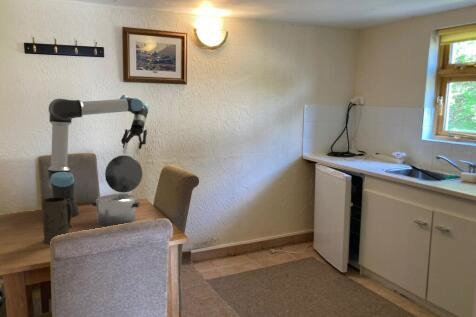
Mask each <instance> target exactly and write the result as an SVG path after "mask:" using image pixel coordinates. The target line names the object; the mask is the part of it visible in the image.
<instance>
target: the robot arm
mask: <svg viewBox="0 0 476 317" xmlns="http://www.w3.org/2000/svg"><path fill="white" fill-rule="evenodd" d="M123 112H125V113H126V112H130V113H131V114H133V115H134V116H133V120H132V123H131V125H130V129H127V128H126V129H124V133H123V135H122V138H121V140H120V142H121V144H122V148H123V149H122V153H123V154H124V155H126V152H127V150H128V144H129V142H130V141H131V140H132V139H133V138H134V137H138V141H139V142H138V143H137V146H136V150H135V153H136V155H139V153H140V150H141V149H142V147H143V145H146V143H147V135H148V130H147V129H145V125H146V121H147V116H148V114H149V105H148V104H147V103H146V102H143V101H142V99H140V98H139V97H138V98H137V97H135V98H133V97H129V96H128V95H126V94H123V95H121V96H120V98H118V99H104V100H103V99H102V100H99V99H98V100H87V101H86V100H85V101H81V100H79V99H66V98H56V99H54V100H52V101H51V102H50V103H49V105H48V114H49V121H48V122H49V123H50V124H51V153H50V154H51V156H50V158H51V159H50V160H51V161H50V166H49V167H48V169H47V176H46V184H47V187H48V188H49V189H50V190H51V198H53V197H63V198H65V199H70V201H71V205H72V209H73V212H72V217H76V216H77V215H79V214H80V210H79V207H78V204H77V202H76V197H75V196H76V195H75V178H74V175H73V173H71V169H70V167H69V166H68V155H69V151H68V150H69V126H70V125H71V124H72V122H73V121H72V120H73V119H75V118H76V119H77V118H82V117H83V116H87V115H88V116H90V115H100V114H103V115H104V114H113V113H123ZM141 135H143V136H141ZM66 210H67V215H68V207H67V205H66Z"/></svg>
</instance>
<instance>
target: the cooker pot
mask: <svg viewBox="0 0 476 317" xmlns="http://www.w3.org/2000/svg"><path fill="white" fill-rule="evenodd" d="M140 203H141V202H140V201H136V197H135V196H134V195H132V194H129V193H122V192H118V193H116V194H115V193H114V194H106V195H102V196H99V197H97V198H96V199H95V200H93V201H92V203H91V204H92V207H96V222H97V224H98V225H99V226H100V225H101V226H104V227H105V226H106V227H112V226H111V225H118V224H124V223H129V224H131V223H130V222H132V223H134V222H135V221H136V218H137V215H136V213H137V212H136V208H140V206H141V204H140Z"/></svg>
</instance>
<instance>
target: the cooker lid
mask: <svg viewBox="0 0 476 317" xmlns="http://www.w3.org/2000/svg"><path fill="white" fill-rule="evenodd" d="M104 178H105V181H106V183H107V185H108V187H109V188H111V189H112V190H113V191H115V192H118V193H123V194H125V193H129V192H132V191H134V190H135V189H137V187H138V186H139V185H140V184H141V182H142V180H143V168H142V165H141V164H140V162H139V161H138V160H137V159H136V158H134V157H133V156H129V155H126V154H124V155H122V154H121V155H118V156H116V157H114V158H112V159H111V160H110V161H109V162H108V163H107V165H106V168H105V171H104Z"/></svg>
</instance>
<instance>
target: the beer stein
mask: <svg viewBox="0 0 476 317" xmlns="http://www.w3.org/2000/svg"><path fill="white" fill-rule="evenodd" d="M41 205H42V226H43V227H42V228H43V229H42V230H43V237H44V238H43V242H44V243H45V244H46V245H47V244H48V245H51V244H50V241H51V239H52V238H53V237H55V236H57V235H61V234H66V233H68V234H70V233H69V232H70V229H72V228H73V225H72V224H71V221H72V212H73V209H72V205H71V201H70V199H65V198H63V197H53V198H52V197H48V198H44V199H42V203H41ZM66 205H67V207H68V215H67V210H66Z"/></svg>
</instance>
